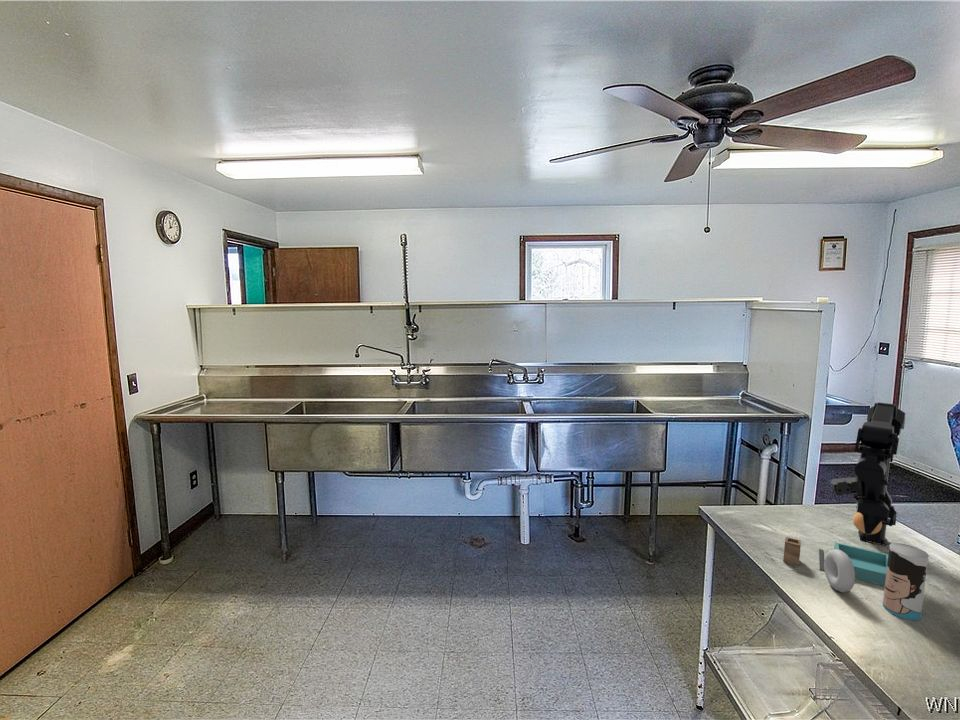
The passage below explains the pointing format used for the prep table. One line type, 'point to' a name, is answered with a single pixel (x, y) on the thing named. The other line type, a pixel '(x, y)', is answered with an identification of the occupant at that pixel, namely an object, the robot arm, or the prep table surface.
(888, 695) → the prep table surface
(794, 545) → the tee
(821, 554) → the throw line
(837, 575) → the donut
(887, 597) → the cup
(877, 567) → the tray
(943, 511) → the prep table surface
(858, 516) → the ball
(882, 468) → the robot arm
